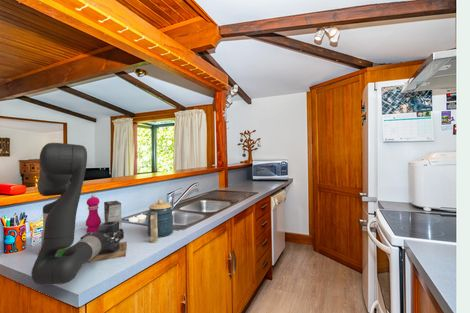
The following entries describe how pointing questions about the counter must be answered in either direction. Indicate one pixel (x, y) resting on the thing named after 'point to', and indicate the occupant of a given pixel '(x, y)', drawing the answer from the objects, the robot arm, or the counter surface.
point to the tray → (119, 253)
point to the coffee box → (112, 211)
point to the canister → (161, 218)
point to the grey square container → (110, 227)
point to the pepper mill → (93, 214)
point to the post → (154, 227)
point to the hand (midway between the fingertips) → (111, 231)
